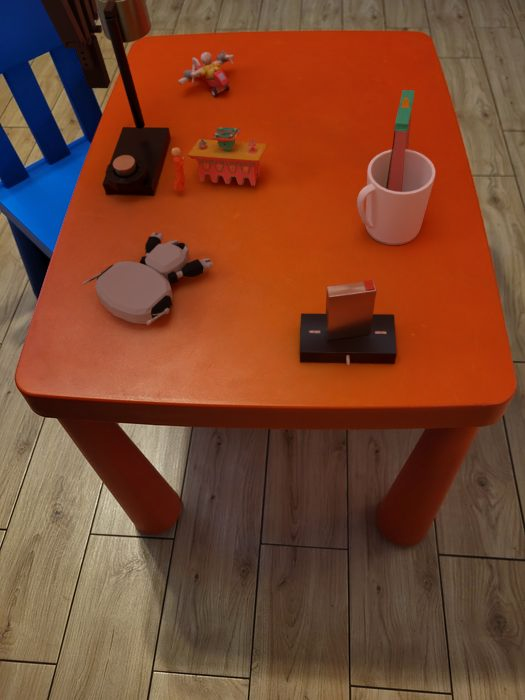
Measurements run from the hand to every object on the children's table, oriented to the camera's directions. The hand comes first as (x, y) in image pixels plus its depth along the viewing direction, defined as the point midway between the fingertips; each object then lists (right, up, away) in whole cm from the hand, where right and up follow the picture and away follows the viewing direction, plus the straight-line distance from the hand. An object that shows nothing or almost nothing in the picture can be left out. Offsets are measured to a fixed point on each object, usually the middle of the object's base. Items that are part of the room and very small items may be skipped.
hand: (99, 84), depth 83 cm
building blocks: (+26, -10, +12) cm, 31 cm away
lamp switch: (+1, -8, +12) cm, 15 cm away
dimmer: (+33, -35, -3) cm, 48 cm away
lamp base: (+2, -5, +18) cm, 19 cm away
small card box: (+33, -34, -5) cm, 48 cm away
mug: (+40, -18, +7) cm, 45 cm away
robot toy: (+7, -27, +4) cm, 28 cm away
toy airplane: (+12, +13, +29) cm, 34 cm away
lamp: (+2, +4, +20) cm, 20 cm away
